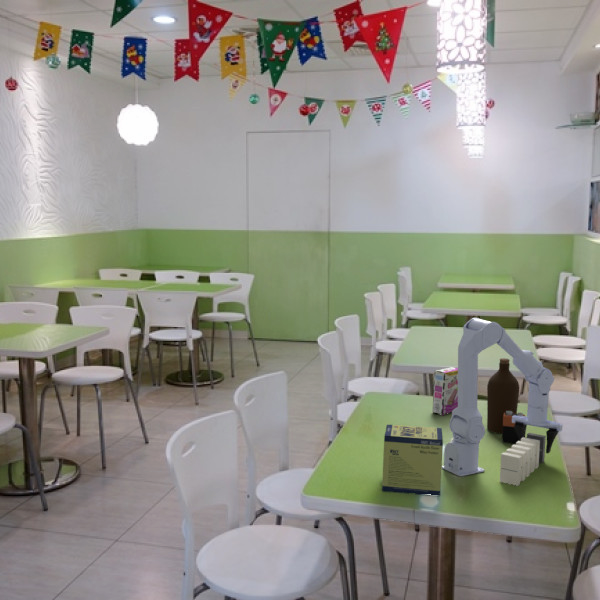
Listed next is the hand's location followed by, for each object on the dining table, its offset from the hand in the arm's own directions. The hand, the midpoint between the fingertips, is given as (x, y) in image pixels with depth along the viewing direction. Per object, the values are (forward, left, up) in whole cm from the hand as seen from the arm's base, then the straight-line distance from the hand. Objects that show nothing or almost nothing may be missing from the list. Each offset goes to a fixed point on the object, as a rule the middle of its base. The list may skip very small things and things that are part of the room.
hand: (535, 449), depth 208 cm
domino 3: (-13, -6, -3) cm, 14 cm away
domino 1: (-20, -9, -3) cm, 23 cm away
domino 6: (0, 0, -3) cm, 3 cm away
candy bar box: (+12, +53, -4) cm, 54 cm away
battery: (+8, +16, -4) cm, 18 cm away
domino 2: (-16, -8, -3) cm, 18 cm away
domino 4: (-9, -4, -3) cm, 10 cm away
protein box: (-46, +1, -4) cm, 46 cm away
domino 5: (-5, -2, -3) cm, 7 cm away
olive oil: (+14, +27, -4) cm, 30 cm away
